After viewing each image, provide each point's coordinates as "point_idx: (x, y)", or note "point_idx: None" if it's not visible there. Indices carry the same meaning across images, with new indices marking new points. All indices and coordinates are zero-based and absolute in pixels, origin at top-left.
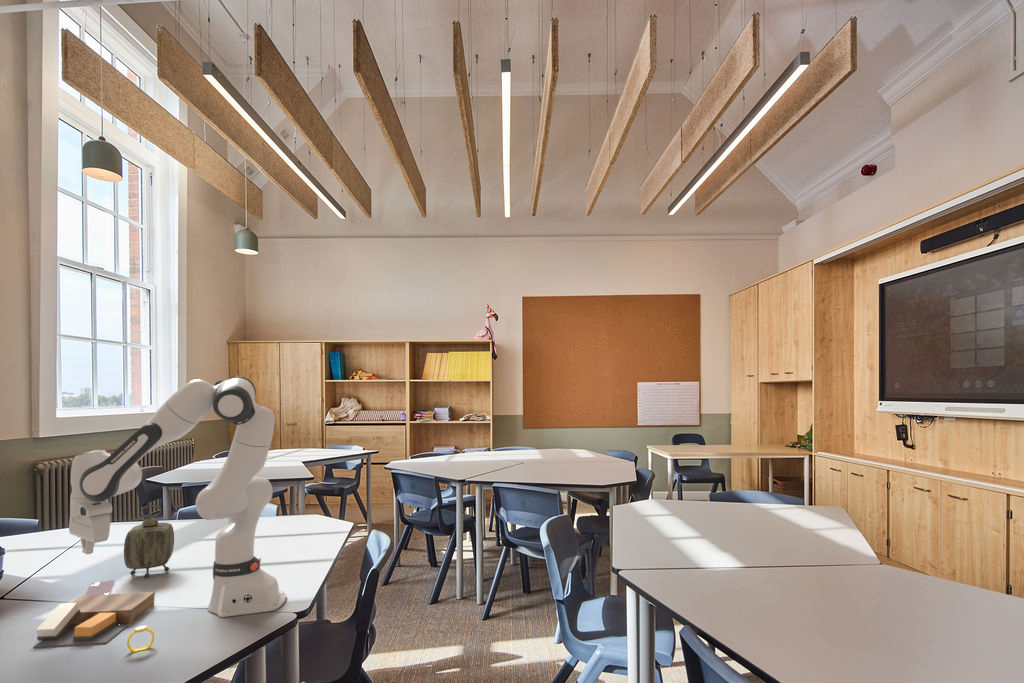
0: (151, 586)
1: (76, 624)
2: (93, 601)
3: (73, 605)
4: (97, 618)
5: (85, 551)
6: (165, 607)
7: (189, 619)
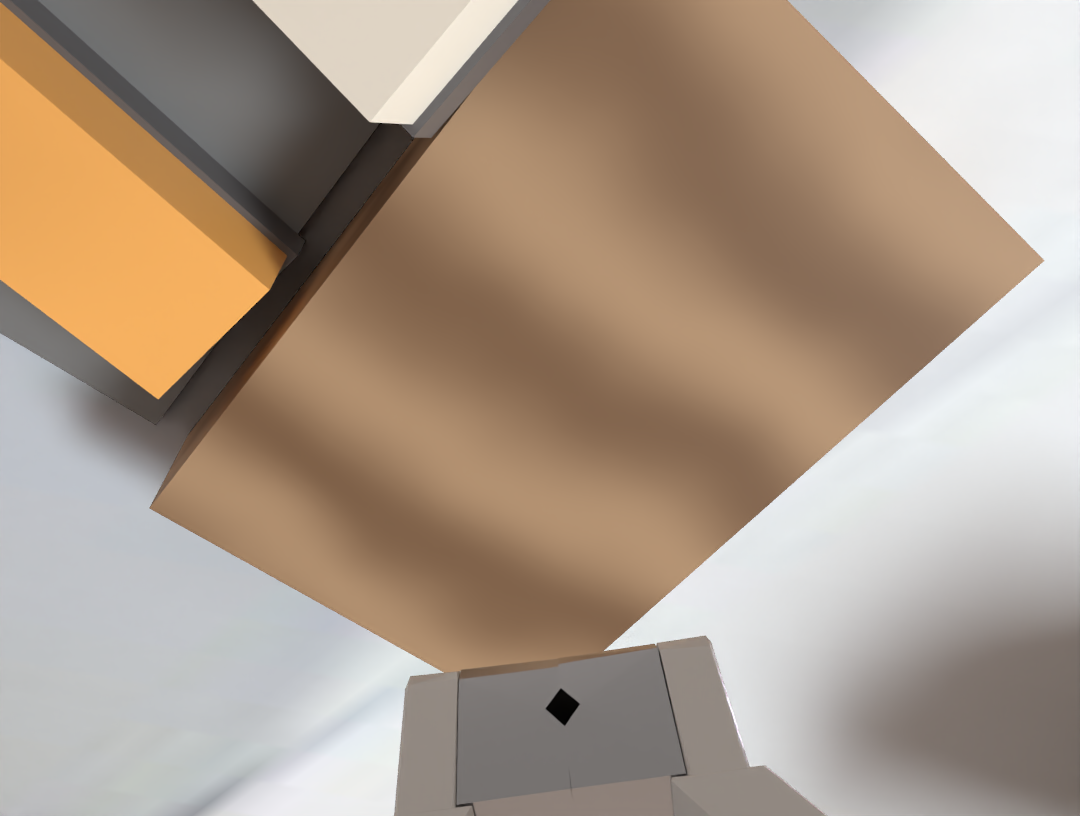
0: (994, 702)
1: None
2: (717, 307)
3: (342, 73)
4: (85, 235)
5: (451, 718)
6: (398, 673)
7: (5, 722)
